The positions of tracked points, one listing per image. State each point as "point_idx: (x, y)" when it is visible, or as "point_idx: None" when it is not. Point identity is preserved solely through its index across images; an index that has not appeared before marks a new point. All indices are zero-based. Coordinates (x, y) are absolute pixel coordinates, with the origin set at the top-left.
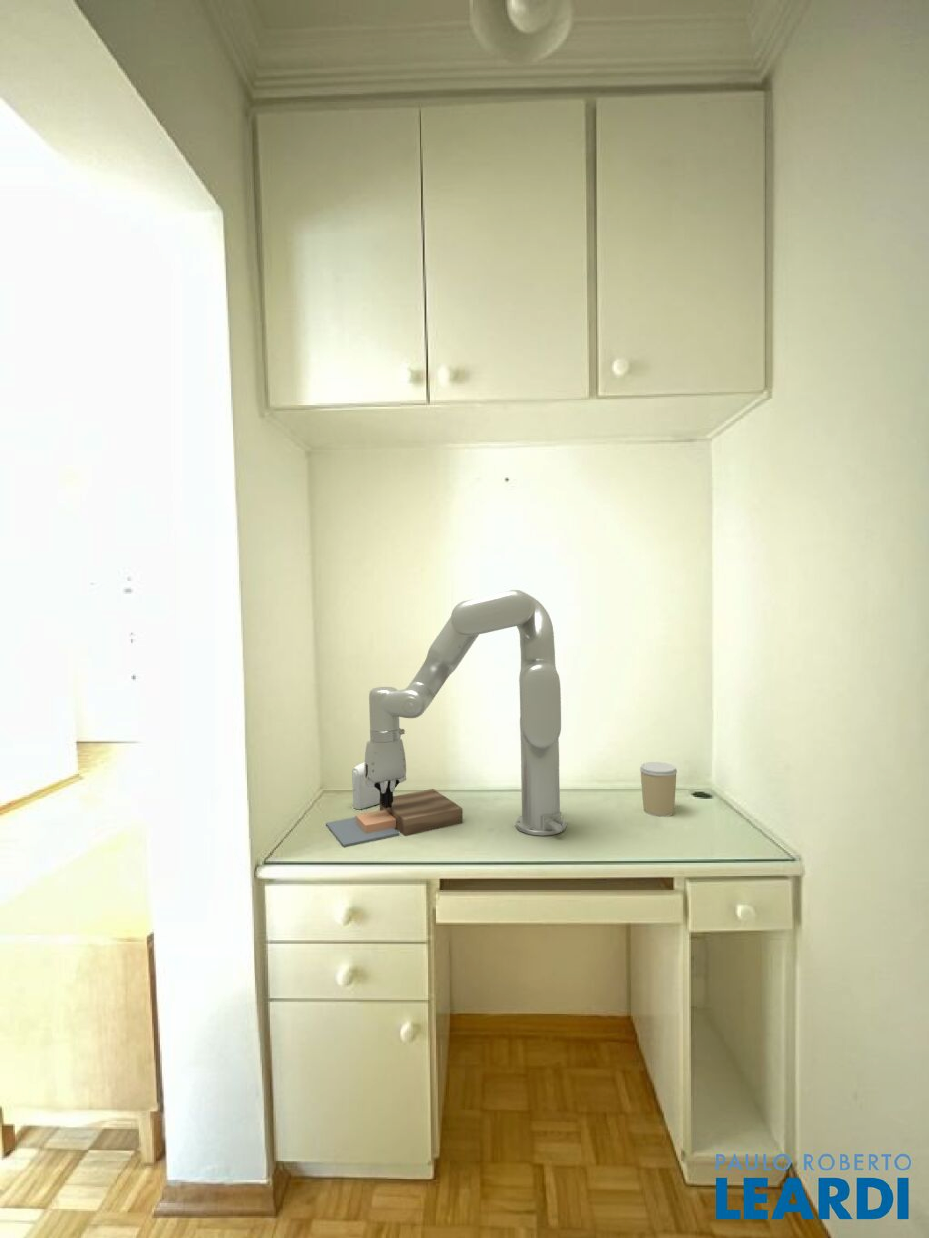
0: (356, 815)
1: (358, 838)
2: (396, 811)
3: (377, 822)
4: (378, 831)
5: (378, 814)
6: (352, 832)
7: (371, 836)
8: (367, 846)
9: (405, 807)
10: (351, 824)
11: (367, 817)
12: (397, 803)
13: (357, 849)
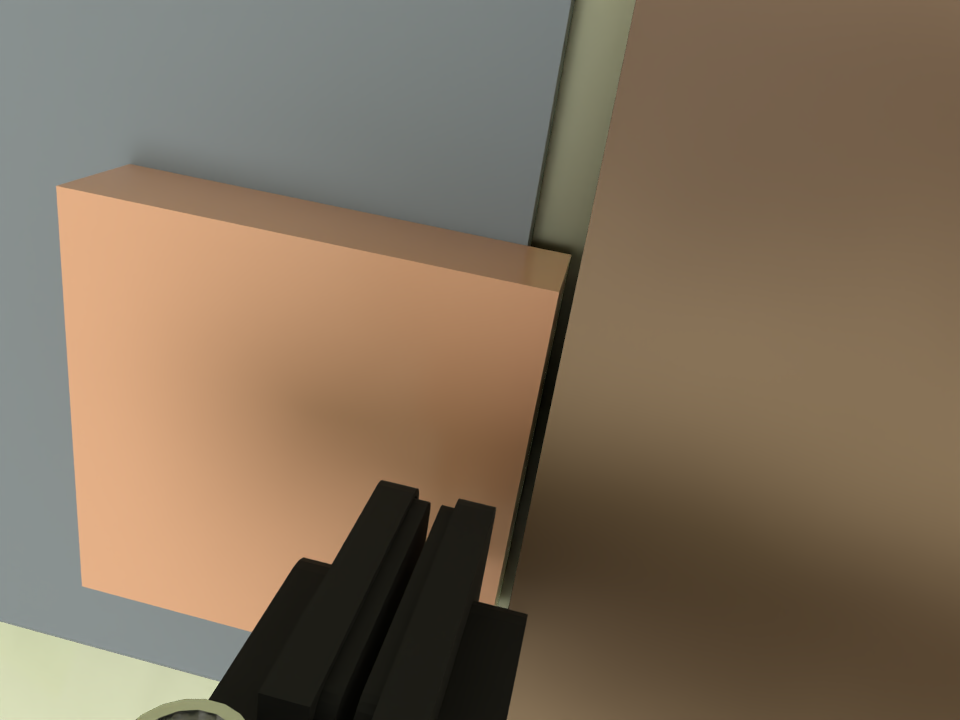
0: (63, 202)
1: (42, 576)
2: (515, 702)
3: (237, 610)
4: None
5: (364, 397)
6: (22, 408)
7: (168, 622)
8: (102, 693)
9: (733, 679)
10: (62, 176)
11: (182, 389)
12: (764, 443)
13: (14, 680)
